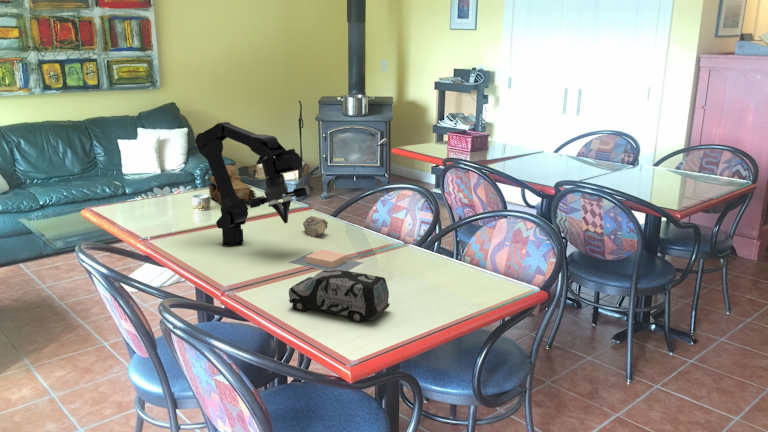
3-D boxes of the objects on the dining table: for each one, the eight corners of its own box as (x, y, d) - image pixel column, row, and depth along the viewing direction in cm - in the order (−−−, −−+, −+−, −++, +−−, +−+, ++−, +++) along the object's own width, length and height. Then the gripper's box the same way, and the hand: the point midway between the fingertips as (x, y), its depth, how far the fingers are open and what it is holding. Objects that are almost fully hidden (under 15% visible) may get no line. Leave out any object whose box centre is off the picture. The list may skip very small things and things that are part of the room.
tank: (228, 211, 261) (226, 175, 257) (208, 197, 283) (206, 164, 280) (257, 207, 267) (255, 172, 264) (236, 194, 290) (234, 162, 286)
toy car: (307, 295, 174) (307, 261, 171) (390, 311, 164) (391, 274, 161) (286, 309, 164) (285, 273, 162) (373, 327, 154) (373, 288, 152)
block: (305, 256, 197) (332, 261, 192) (321, 249, 204) (346, 254, 199) (305, 263, 198) (332, 269, 193) (321, 256, 204) (347, 261, 200)
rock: (323, 224, 221) (333, 213, 230) (293, 221, 224) (303, 210, 233) (325, 242, 224) (334, 230, 233) (295, 239, 227) (305, 228, 235)
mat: (288, 263, 199) (288, 262, 199) (311, 253, 209) (311, 252, 209) (341, 275, 189) (341, 274, 189) (363, 263, 199) (363, 262, 199)
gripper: (238, 184, 195) (251, 233, 196) (297, 170, 193) (309, 220, 195) (248, 181, 206) (260, 227, 207) (304, 168, 204) (315, 215, 206)
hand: (286, 223), depth 204 cm, fingers closed
